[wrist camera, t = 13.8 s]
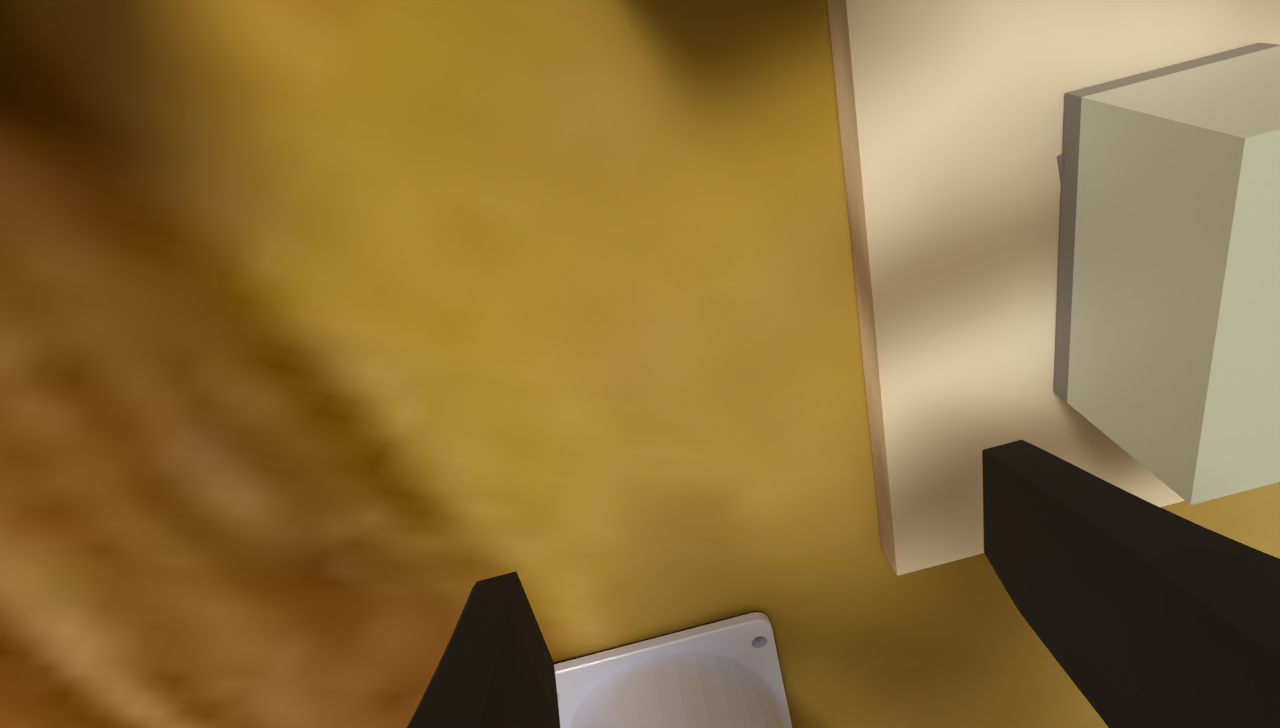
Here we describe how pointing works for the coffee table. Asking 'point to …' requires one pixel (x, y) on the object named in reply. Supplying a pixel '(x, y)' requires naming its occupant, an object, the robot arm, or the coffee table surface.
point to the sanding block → (1176, 269)
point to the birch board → (980, 231)
